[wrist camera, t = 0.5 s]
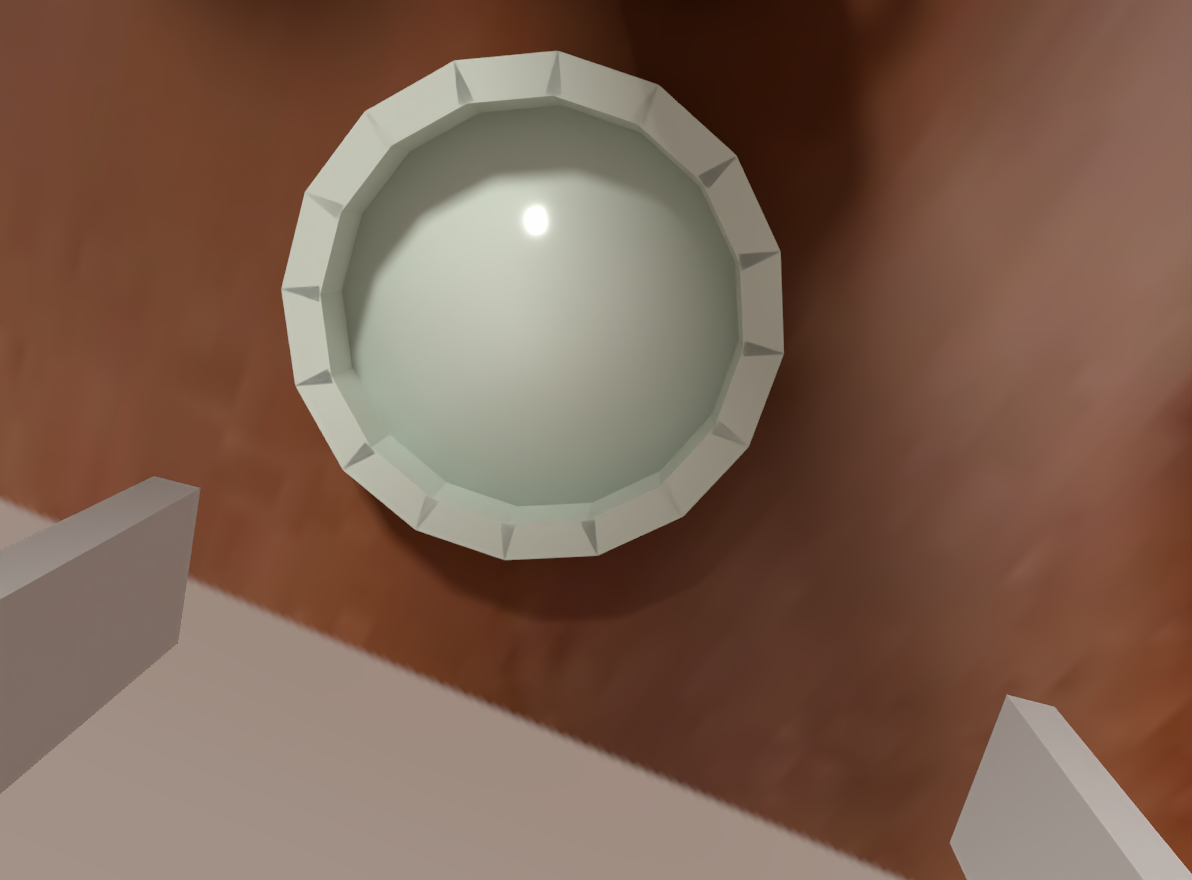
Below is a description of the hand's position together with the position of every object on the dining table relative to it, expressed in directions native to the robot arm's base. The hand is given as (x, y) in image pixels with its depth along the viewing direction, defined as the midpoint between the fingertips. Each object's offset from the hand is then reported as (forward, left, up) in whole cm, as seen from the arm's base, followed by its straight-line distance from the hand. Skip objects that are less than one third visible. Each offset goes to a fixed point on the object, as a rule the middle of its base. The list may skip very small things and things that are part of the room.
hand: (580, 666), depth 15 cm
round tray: (-4, -4, -25) cm, 26 cm away
